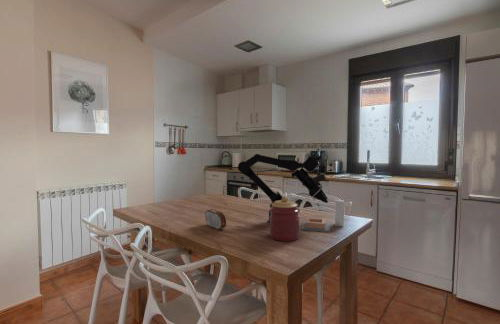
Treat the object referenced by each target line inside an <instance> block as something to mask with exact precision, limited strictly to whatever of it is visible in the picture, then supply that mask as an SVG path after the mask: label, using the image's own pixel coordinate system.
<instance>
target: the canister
mask: <svg viewBox="0 0 500 324" xmlns="http://www.w3.org/2000/svg"><path fill="white" fill-rule="evenodd" d="M288 199H289V198H288V197H287V196H283V197H282V200H278V201H275V202H274V203H272V202H271V203H272V208H270V207H269V211H270V212H271V216H270V223H269V236H270V238H271V239H272V240H274V241H281V242H291V241H296V240H299V238H300V237H299V236H300V216H299V213H300V212H301V210H300V209H299V208H298V205H299V204H298V203H296V202H295V201H294V200H290V199H289V200H288Z"/></svg>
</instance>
